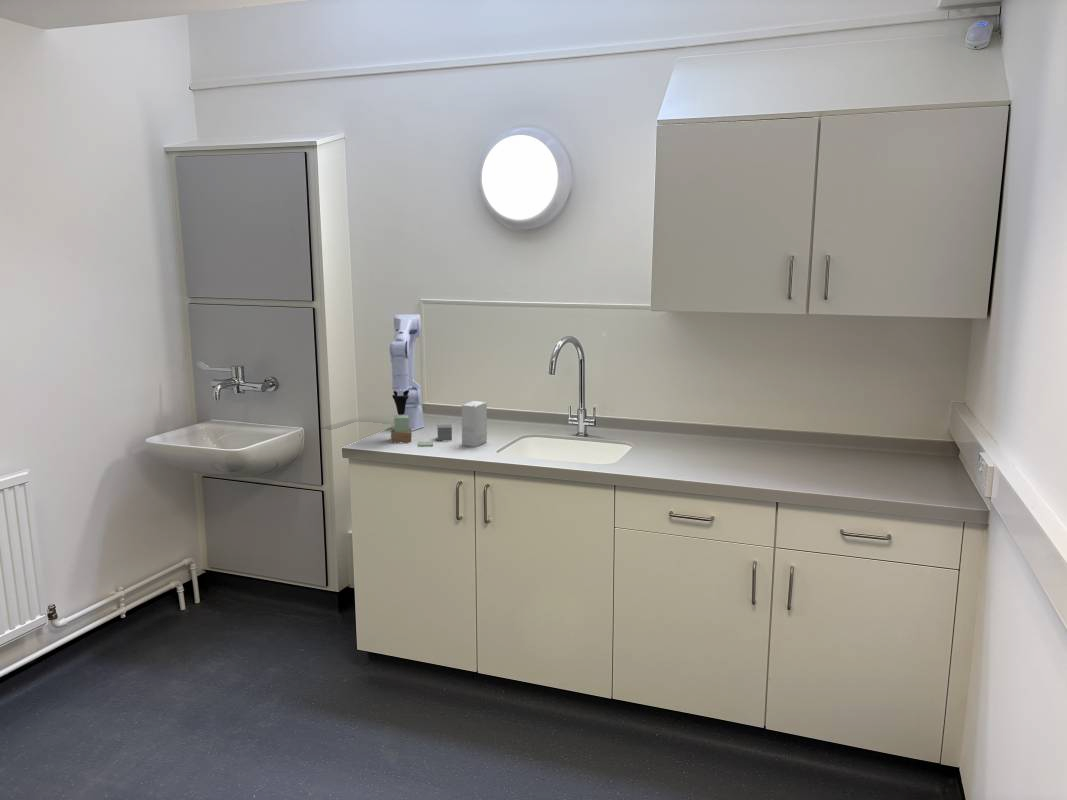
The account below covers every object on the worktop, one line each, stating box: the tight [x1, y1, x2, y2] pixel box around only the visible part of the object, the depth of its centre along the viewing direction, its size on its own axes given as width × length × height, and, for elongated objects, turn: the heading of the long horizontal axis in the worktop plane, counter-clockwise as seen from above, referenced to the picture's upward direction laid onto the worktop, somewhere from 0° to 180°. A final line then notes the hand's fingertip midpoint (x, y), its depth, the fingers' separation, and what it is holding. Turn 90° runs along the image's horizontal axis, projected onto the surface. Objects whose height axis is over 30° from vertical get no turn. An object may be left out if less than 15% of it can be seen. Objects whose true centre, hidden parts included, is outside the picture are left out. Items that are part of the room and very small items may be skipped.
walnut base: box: [390, 428, 413, 444], centre depth 280 cm, size 7×7×4 cm
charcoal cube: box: [436, 423, 453, 442], centre depth 283 cm, size 5×5×5 cm
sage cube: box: [393, 415, 409, 432], centre depth 280 cm, size 5×5×5 cm
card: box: [418, 440, 434, 447], centre depth 275 cm, size 5×5×1 cm
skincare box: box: [461, 400, 488, 448], centre depth 275 cm, size 8×6×15 cm
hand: (401, 412), depth 279 cm, fingers open, 7 cm apart
